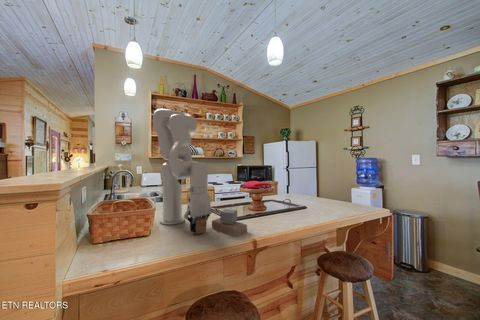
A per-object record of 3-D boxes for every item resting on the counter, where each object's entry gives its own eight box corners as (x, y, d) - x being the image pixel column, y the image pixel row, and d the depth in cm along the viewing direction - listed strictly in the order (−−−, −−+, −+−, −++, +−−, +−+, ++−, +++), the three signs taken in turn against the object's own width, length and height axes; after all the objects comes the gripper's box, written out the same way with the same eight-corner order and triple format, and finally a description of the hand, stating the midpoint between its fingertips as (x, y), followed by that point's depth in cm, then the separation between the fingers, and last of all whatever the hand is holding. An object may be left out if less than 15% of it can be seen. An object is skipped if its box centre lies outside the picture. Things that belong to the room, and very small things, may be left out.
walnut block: (190, 231, 101) (190, 217, 101) (199, 228, 105) (200, 215, 104) (196, 234, 98) (196, 220, 97) (206, 231, 101) (206, 218, 101)
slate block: (220, 222, 104) (220, 212, 104) (225, 219, 109) (225, 209, 109) (232, 224, 102) (232, 213, 102) (237, 220, 107) (237, 210, 107)
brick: (248, 233, 103) (248, 223, 103) (235, 238, 97) (235, 227, 97) (223, 225, 114) (223, 216, 114) (211, 229, 108) (211, 219, 108)
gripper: (186, 193, 92) (185, 237, 92) (219, 189, 104) (218, 228, 104) (177, 190, 97) (177, 232, 98) (209, 187, 109) (208, 224, 110)
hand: (198, 229), depth 101 cm, fingers closed on walnut block, 5 cm apart
